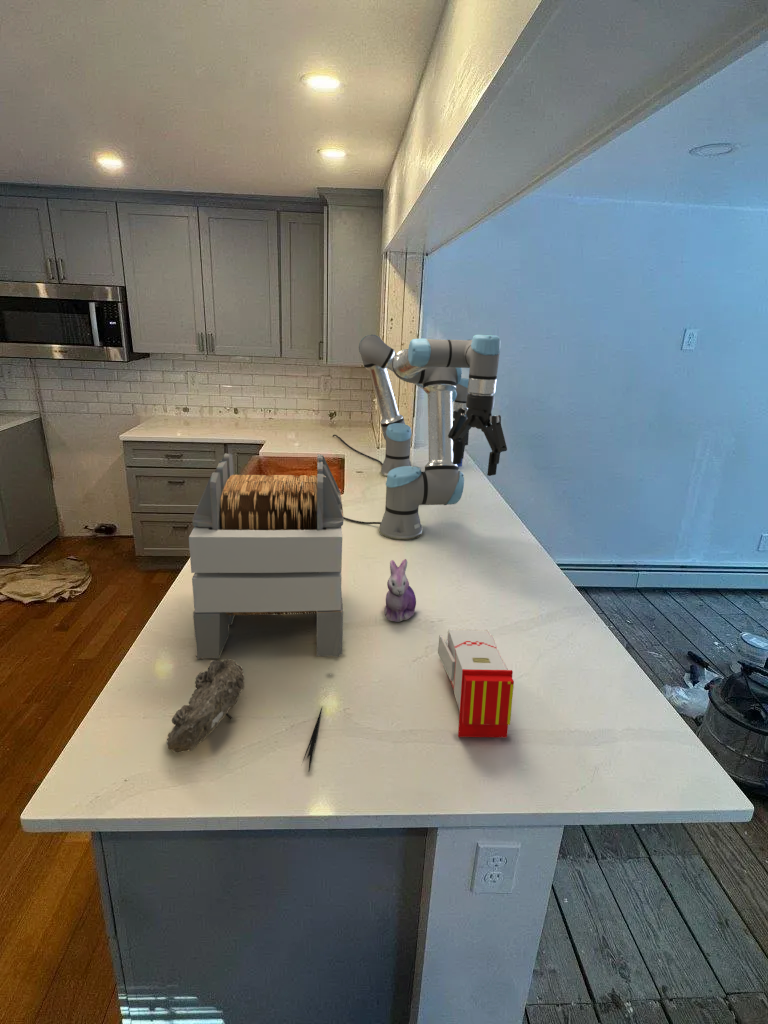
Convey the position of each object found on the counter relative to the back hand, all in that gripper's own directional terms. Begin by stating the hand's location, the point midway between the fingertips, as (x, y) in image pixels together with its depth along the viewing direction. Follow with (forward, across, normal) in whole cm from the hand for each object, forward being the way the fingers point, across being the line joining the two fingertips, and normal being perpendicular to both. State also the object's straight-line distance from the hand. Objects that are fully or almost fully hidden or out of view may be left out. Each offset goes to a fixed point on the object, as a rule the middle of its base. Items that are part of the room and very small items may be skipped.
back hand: (457, 456), depth 285 cm
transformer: (+6, -107, +127) cm, 166 cm away
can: (+5, 0, 0) cm, 5 cm away
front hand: (-27, -102, +66) cm, 124 cm away
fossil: (+6, -136, +148) cm, 201 cm away
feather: (+6, -146, +130) cm, 195 cm away
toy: (+6, -150, +98) cm, 180 cm away
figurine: (+6, -117, +96) cm, 151 cm away
